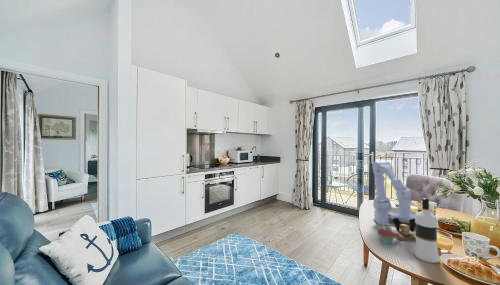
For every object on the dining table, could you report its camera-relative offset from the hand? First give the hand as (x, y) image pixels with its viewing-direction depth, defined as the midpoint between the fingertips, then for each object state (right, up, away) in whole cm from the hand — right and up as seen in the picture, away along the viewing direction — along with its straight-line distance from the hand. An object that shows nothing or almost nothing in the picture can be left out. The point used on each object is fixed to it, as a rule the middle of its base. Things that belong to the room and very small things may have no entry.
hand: (404, 231), depth 119 cm
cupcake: (-15, -4, -5) cm, 16 cm away
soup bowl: (+17, -4, +23) cm, 29 cm away
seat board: (+3, -4, -1) cm, 5 cm away
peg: (0, -4, 0) cm, 4 cm away
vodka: (-7, -4, -22) cm, 23 cm away
